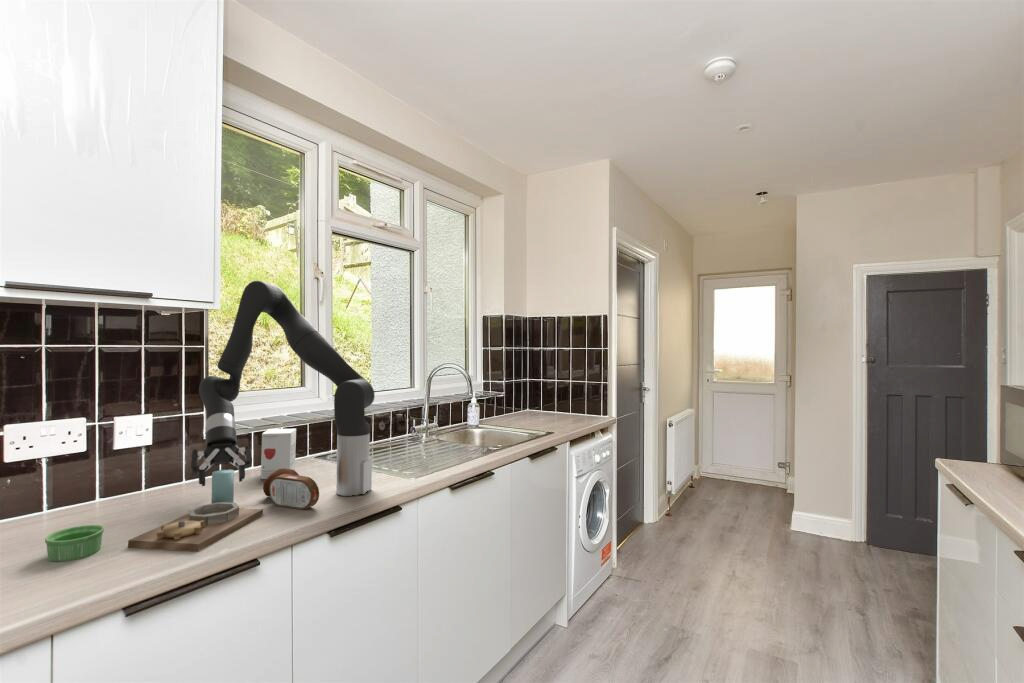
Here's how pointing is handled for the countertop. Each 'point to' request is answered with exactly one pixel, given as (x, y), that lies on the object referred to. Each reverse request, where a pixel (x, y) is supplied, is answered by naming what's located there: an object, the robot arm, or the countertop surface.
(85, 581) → the countertop surface
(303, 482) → the tin
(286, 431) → the supplement box
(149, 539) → the board
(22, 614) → the countertop surface
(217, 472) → the light blue cylinder
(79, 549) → the ramekin
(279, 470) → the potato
